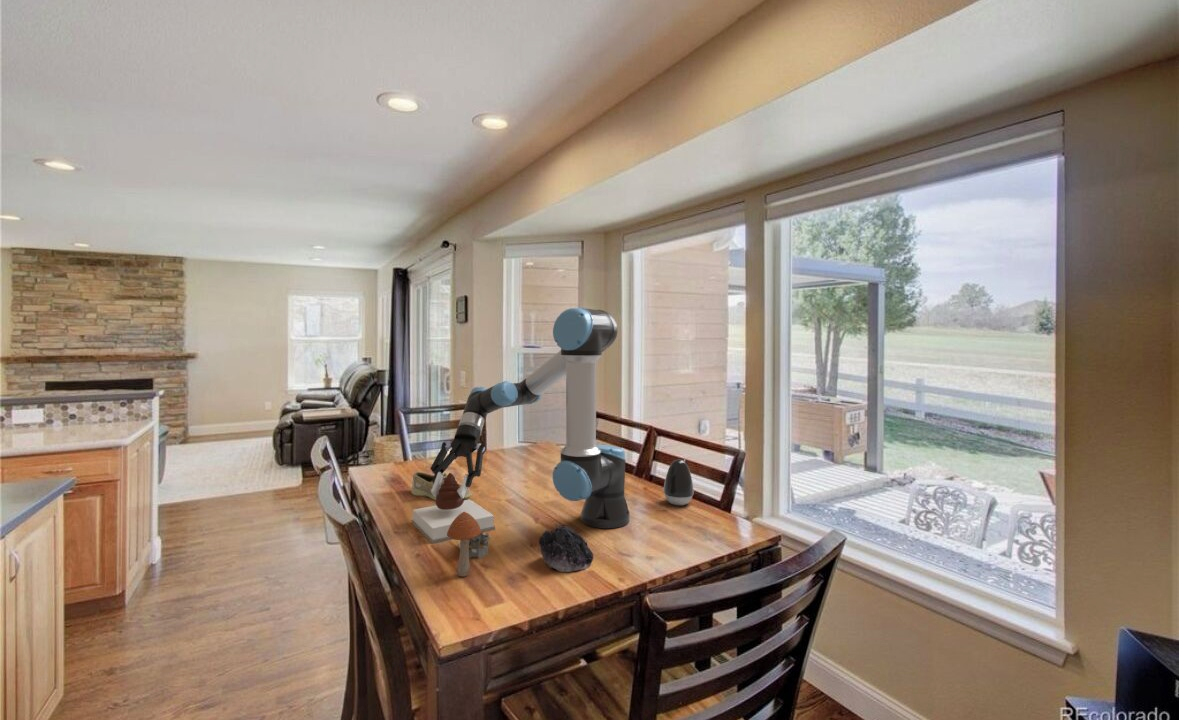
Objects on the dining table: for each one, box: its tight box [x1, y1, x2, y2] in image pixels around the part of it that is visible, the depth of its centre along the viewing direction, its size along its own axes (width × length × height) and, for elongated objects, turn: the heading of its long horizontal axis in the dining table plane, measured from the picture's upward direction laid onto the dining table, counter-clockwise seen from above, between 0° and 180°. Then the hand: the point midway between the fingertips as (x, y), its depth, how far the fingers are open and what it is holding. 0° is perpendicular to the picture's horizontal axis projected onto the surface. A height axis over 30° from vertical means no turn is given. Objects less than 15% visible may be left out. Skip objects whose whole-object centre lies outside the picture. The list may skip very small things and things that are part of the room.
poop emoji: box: [435, 472, 466, 510], centre depth 151 cm, size 10×8×9 cm
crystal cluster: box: [538, 525, 594, 573], centre depth 129 cm, size 13×14×10 cm
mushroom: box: [447, 512, 481, 578], centre depth 121 cm, size 8×8×15 cm
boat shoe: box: [410, 471, 472, 502], centre depth 179 cm, size 25×9×8 cm, turn 63°
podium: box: [411, 498, 496, 544], centre depth 152 cm, size 19×19×4 cm
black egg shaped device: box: [663, 458, 694, 506], centre depth 176 cm, size 10×10×15 cm
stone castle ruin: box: [458, 532, 491, 559], centre depth 135 cm, size 11×8×4 cm
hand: (447, 495), depth 148 cm, fingers closed on poop emoji, 8 cm apart
